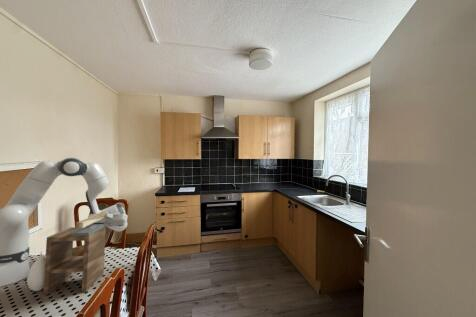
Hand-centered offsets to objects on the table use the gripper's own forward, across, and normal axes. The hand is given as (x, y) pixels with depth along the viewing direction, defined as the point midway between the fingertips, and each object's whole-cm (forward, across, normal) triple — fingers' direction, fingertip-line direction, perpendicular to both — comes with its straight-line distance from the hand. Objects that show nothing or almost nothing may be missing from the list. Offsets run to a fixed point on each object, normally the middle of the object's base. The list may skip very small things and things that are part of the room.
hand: (102, 214), depth 107 cm
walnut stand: (-6, -4, +33) cm, 34 cm away
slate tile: (+7, 0, +10) cm, 13 cm away
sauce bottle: (-4, -18, +35) cm, 40 cm away
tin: (-28, -20, +21) cm, 40 cm away
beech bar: (+5, 0, +5) cm, 7 cm away
